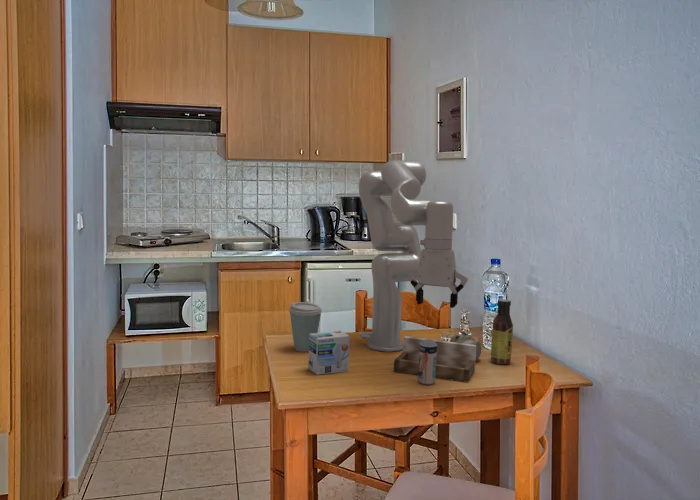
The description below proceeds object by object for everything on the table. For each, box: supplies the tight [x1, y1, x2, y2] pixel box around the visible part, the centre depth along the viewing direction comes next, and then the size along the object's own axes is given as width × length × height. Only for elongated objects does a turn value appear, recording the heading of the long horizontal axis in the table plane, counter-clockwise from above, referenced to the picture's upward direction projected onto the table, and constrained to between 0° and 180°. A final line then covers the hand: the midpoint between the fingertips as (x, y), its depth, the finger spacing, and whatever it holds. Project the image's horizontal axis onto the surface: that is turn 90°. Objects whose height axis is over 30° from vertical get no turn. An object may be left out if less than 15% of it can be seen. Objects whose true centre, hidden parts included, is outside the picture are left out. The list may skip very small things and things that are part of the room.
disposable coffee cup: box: [288, 301, 323, 353], centre depth 206 cm, size 11×11×15 cm
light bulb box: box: [307, 330, 351, 376], centre depth 186 cm, size 11×7×11 cm, turn 117°
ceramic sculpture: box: [449, 331, 482, 361], centre depth 204 cm, size 11×9×15 cm
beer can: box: [417, 338, 437, 386], centre depth 178 cm, size 5×5×12 cm
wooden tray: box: [393, 335, 476, 382], centre depth 189 cm, size 22×11×8 cm, turn 70°
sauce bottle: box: [490, 298, 514, 365], centre depth 199 cm, size 7×6×20 cm
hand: (436, 305), depth 179 cm, fingers open, 9 cm apart
